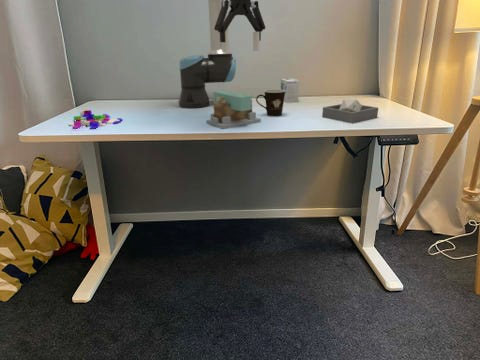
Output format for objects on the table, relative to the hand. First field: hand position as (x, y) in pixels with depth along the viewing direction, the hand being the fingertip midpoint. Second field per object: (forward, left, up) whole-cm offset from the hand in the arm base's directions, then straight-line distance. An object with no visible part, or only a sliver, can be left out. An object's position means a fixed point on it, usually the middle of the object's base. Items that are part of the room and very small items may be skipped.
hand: (241, 51), depth 130 cm
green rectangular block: (-6, 0, -20) cm, 21 cm away
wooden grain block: (-6, 0, -26) cm, 26 cm away
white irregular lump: (+17, +42, -27) cm, 53 cm away
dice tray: (+17, +42, -27) cm, 53 cm away
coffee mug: (-8, +21, -27) cm, 35 cm away
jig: (-6, 0, -27) cm, 27 cm away
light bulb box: (-28, +50, -27) cm, 63 cm away
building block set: (-43, -43, -28) cm, 67 cm away
